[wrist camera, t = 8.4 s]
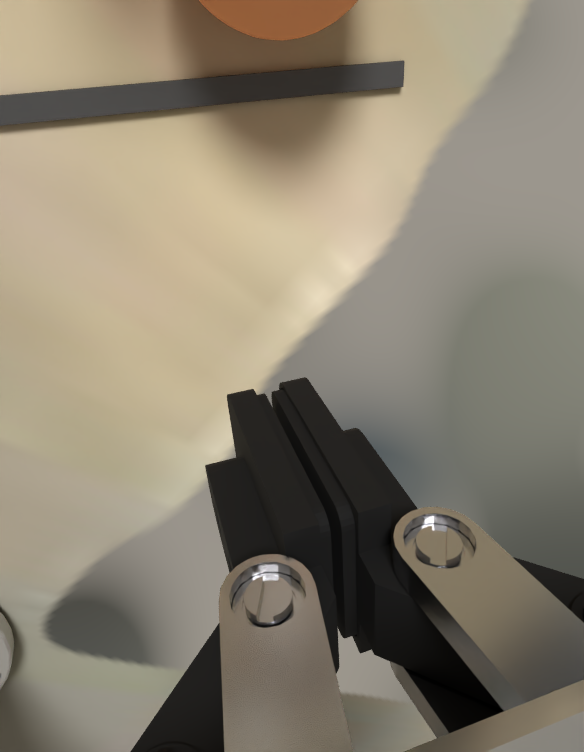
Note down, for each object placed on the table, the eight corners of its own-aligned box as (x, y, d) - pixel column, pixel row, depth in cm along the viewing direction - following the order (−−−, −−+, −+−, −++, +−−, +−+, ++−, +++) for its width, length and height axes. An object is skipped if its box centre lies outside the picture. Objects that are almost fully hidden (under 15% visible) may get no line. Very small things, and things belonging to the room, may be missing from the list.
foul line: (400, 86, 19) (403, 86, 19) (-15, 126, 17) (-16, 126, 17) (401, 60, 19) (404, 60, 19) (-24, 97, 16) (-26, 97, 16)
